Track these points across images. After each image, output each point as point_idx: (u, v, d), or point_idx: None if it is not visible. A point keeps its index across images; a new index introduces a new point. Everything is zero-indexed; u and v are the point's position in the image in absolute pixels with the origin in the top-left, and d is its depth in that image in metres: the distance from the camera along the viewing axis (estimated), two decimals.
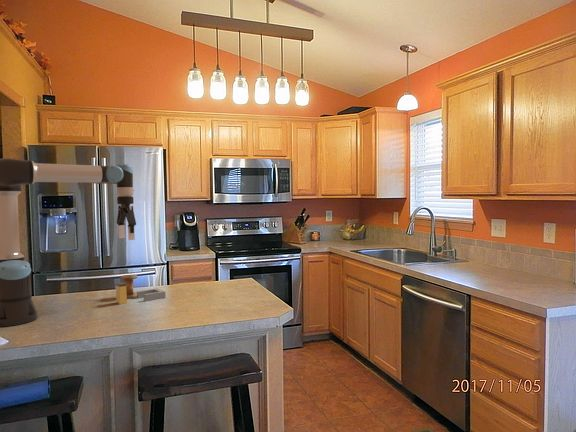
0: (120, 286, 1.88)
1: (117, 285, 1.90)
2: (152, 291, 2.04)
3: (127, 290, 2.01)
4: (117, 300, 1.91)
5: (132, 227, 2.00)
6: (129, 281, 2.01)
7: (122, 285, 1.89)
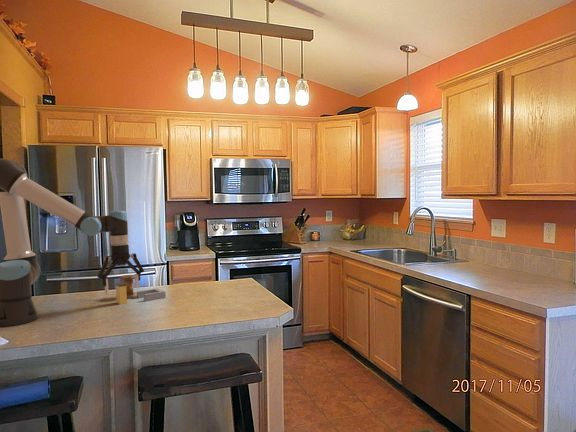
0: (120, 286, 1.88)
1: (117, 285, 1.90)
2: (152, 291, 2.04)
3: (127, 290, 2.01)
4: (117, 300, 1.91)
5: (102, 280, 1.85)
6: (129, 281, 2.01)
7: (122, 285, 1.89)
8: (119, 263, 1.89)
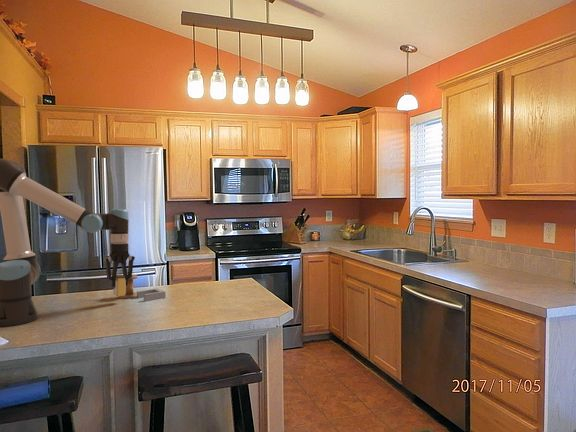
0: (119, 278, 1.88)
1: (116, 277, 1.90)
2: (152, 291, 2.04)
3: (127, 290, 2.01)
4: None
5: (112, 281, 1.88)
6: (129, 281, 2.01)
7: (121, 277, 1.88)
8: None
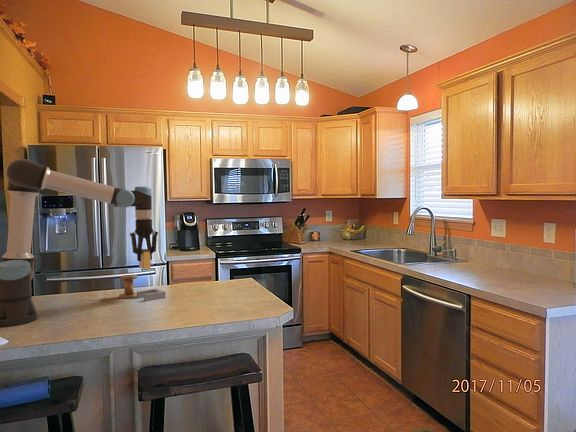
0: (144, 251, 1.98)
1: (141, 251, 2.00)
2: (152, 291, 2.04)
3: (127, 290, 2.01)
4: None
5: (137, 255, 1.98)
6: (129, 281, 2.01)
7: (146, 251, 1.99)
8: None
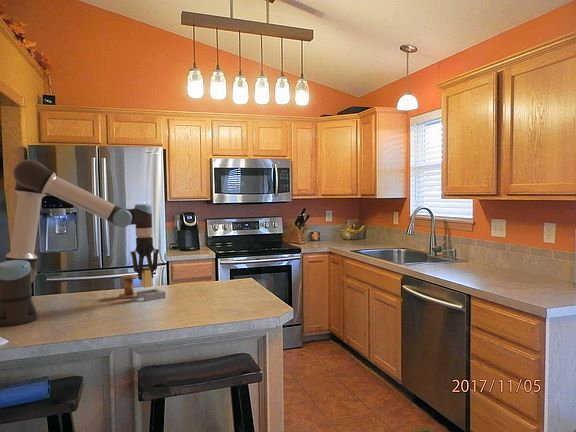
0: (145, 270, 1.95)
1: (142, 269, 1.97)
2: (152, 291, 2.04)
3: (127, 290, 2.01)
4: None
5: (138, 274, 1.96)
6: (129, 281, 2.01)
7: (147, 269, 1.96)
8: (143, 255, 1.96)
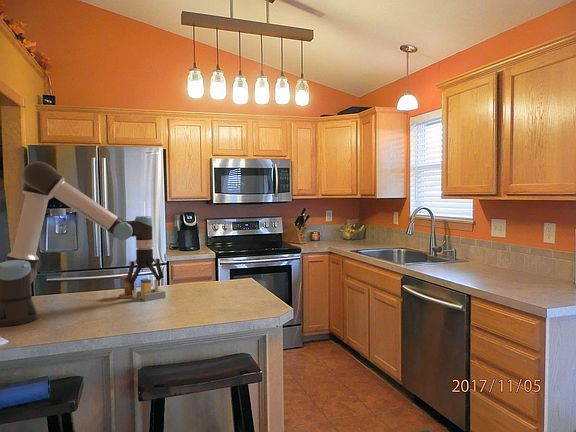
0: (145, 282, 1.96)
1: (142, 281, 1.97)
2: (152, 291, 2.04)
3: (127, 290, 2.01)
4: (142, 296, 1.98)
5: (130, 284, 1.94)
6: None
7: (147, 281, 1.96)
8: (143, 266, 1.96)
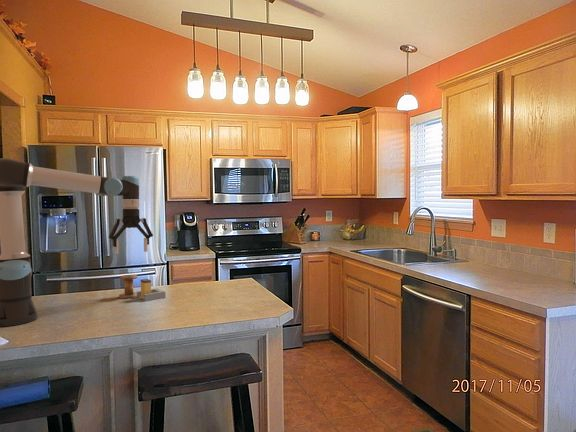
0: (145, 282, 1.96)
1: (142, 281, 1.97)
2: (152, 291, 2.04)
3: (127, 290, 2.01)
4: (142, 296, 1.98)
5: (113, 241, 1.94)
6: (129, 281, 2.01)
7: (147, 281, 1.96)
8: (130, 226, 1.98)
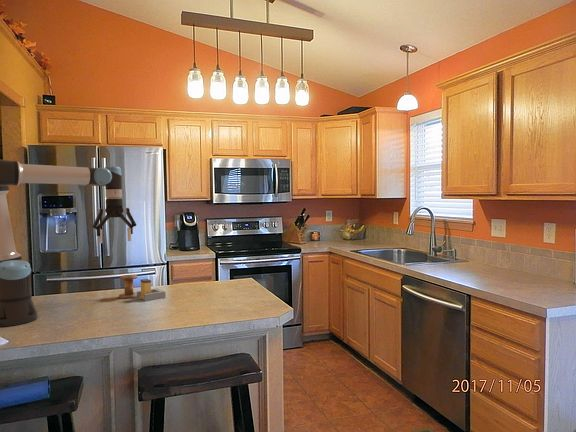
0: (145, 282, 1.96)
1: (142, 281, 1.97)
2: (152, 291, 2.04)
3: (127, 290, 2.01)
4: (142, 296, 1.98)
5: None
6: (129, 281, 2.01)
7: (147, 281, 1.96)
8: (113, 216, 2.01)
